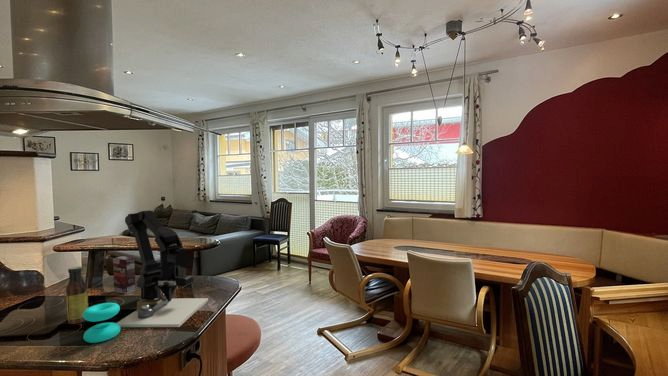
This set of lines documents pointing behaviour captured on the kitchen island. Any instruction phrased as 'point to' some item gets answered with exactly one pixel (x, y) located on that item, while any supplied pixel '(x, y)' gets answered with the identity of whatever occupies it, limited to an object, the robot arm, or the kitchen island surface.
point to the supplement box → (124, 274)
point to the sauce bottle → (76, 296)
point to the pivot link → (151, 308)
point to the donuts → (103, 329)
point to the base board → (166, 314)
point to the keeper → (147, 302)
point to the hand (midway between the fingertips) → (169, 300)
